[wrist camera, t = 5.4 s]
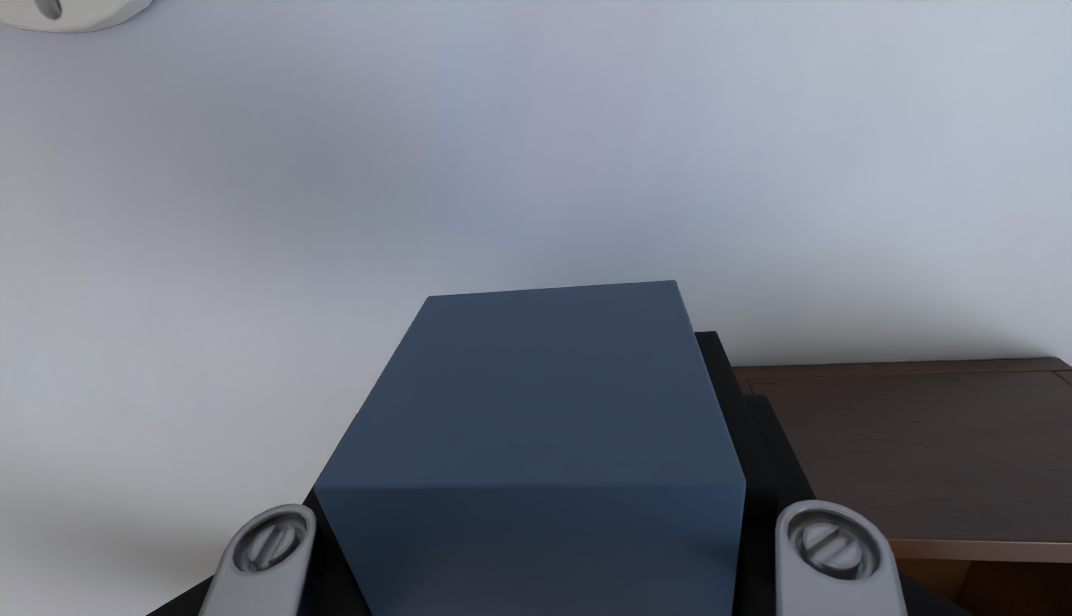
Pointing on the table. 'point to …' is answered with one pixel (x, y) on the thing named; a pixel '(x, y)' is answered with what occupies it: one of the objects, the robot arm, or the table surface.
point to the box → (944, 468)
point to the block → (541, 462)
